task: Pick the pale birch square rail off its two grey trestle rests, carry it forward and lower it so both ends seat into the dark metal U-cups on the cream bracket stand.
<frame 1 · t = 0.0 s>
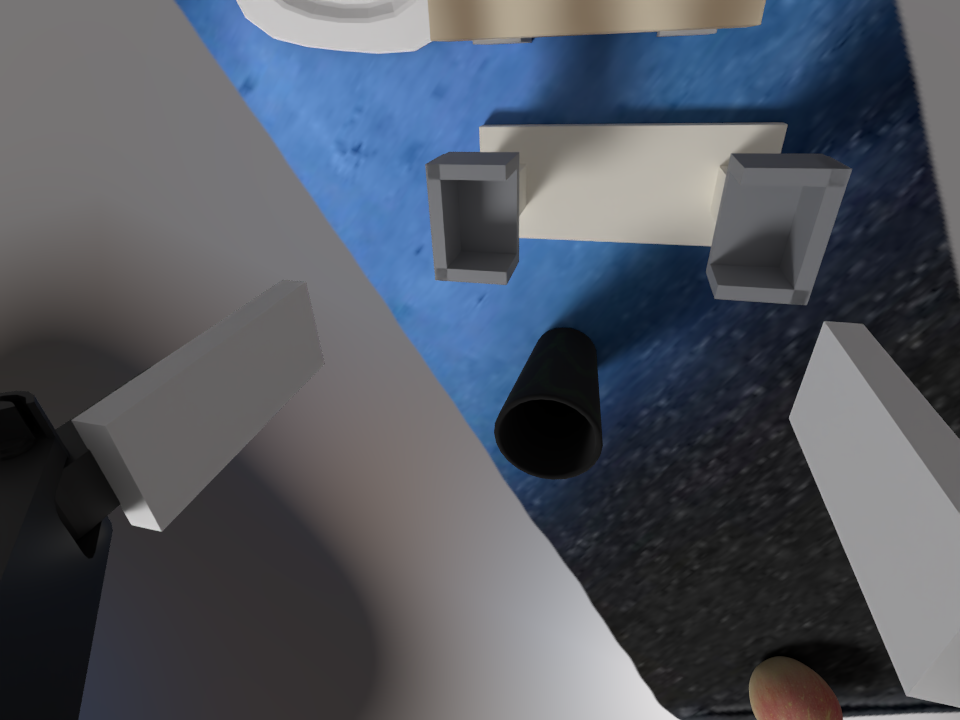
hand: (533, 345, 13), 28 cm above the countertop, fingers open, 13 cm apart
bracket stand: (617, 183, 37), on the countertop
apple: (784, 664, 60), on the countertop
cup: (565, 353, 46), on the countertop
rests: (594, 2, 32), on the countertop
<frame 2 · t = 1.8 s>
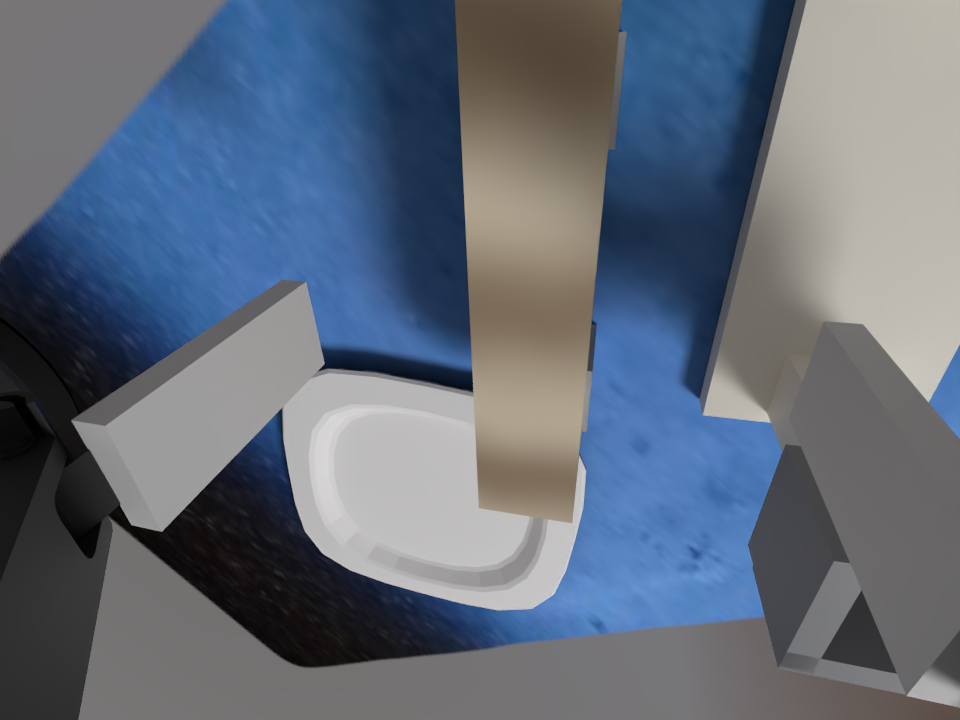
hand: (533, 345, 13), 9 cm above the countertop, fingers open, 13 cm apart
bracket stand: (879, 177, 17), on the countertop
rail: (544, 270, 18), point 4 cm above the countertop, touching rests
plate: (433, 484, 32), on the countertop
rests: (556, 235, 21), on the countertop
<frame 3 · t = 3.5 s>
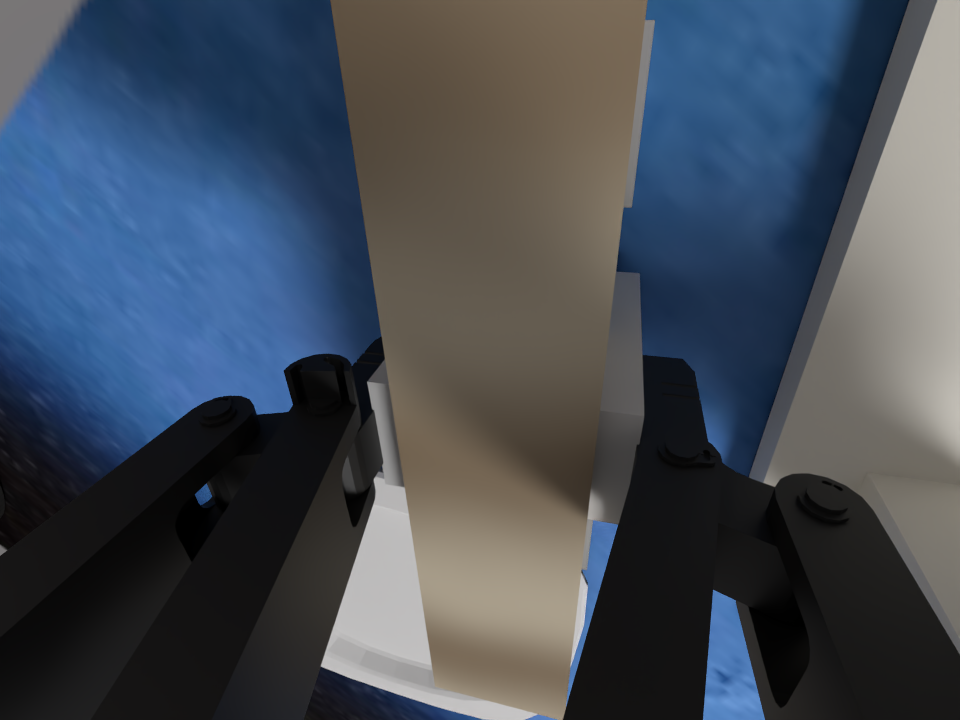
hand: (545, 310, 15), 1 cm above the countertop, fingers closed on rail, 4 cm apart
rail: (525, 370, 12), point 4 cm above the countertop, touching gripper
plate: (403, 575, 26), on the countertop
rests: (548, 302, 16), on the countertop
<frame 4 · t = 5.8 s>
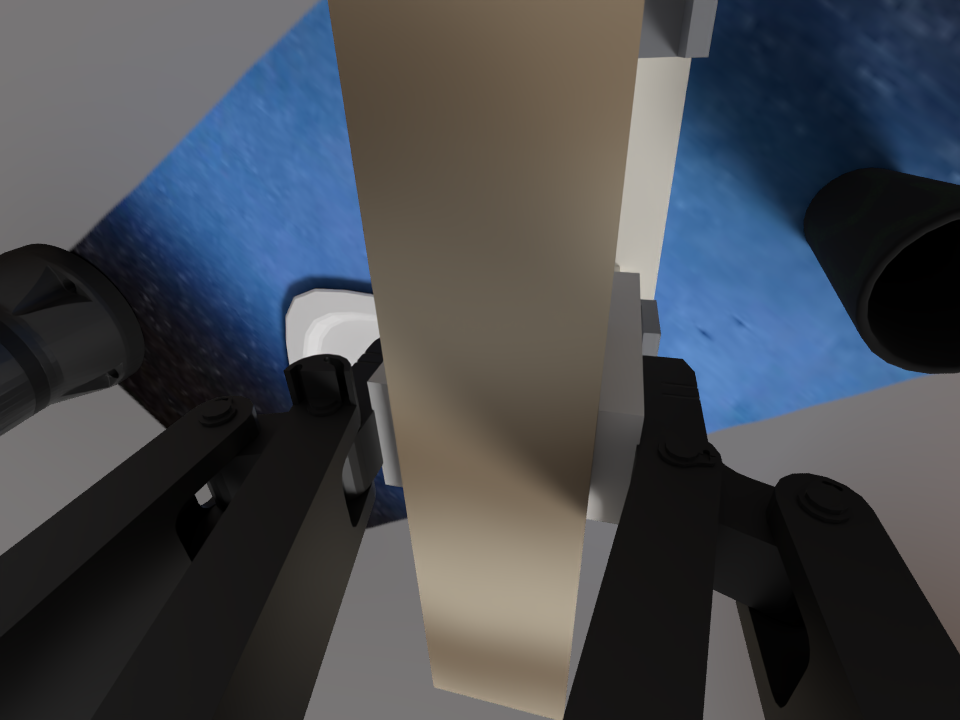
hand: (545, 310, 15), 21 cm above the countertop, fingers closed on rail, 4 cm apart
bracket stand: (606, 162, 32), on the countertop
rail: (524, 371, 12), point 25 cm above the countertop, touching gripper
plate: (388, 376, 47), on the countertop
cup: (854, 214, 31), on the countertop
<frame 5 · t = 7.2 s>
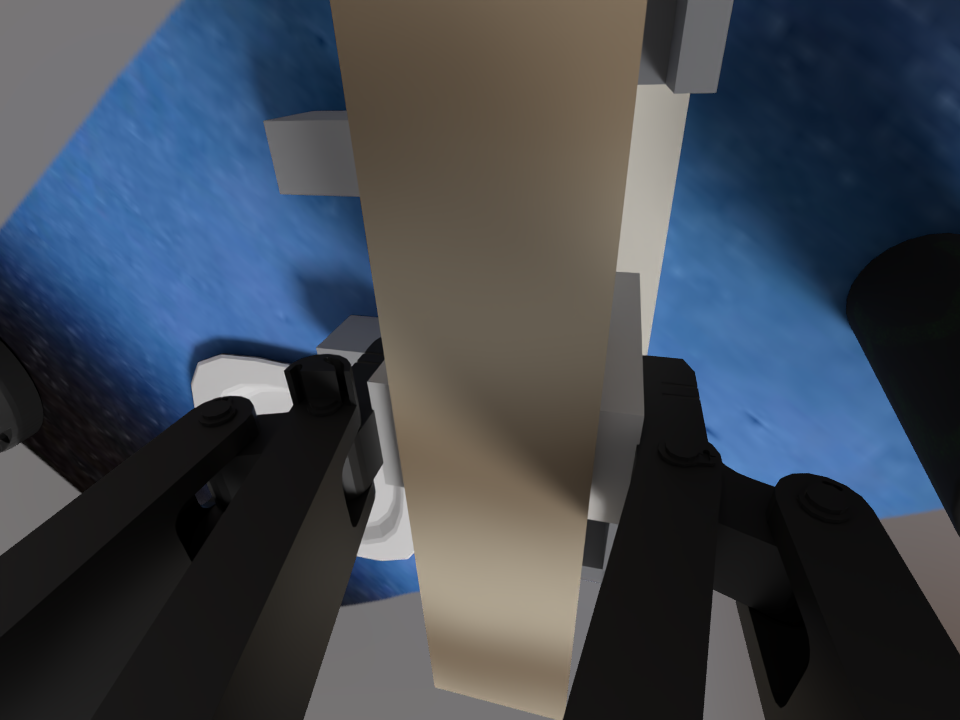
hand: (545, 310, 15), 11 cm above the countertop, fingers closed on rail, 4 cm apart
bracket stand: (577, 214, 24), on the countertop
rail: (525, 371, 12), point 14 cm above the countertop, touching gripper
plate: (322, 453, 38), on the countertop
cup: (919, 293, 22), on the countertop
rests: (371, 252, 28), on the countertop
when the fingers open (7 cm above the countertop, at t = 8.2 s): rail drops 1 cm, resting on bracket stand.
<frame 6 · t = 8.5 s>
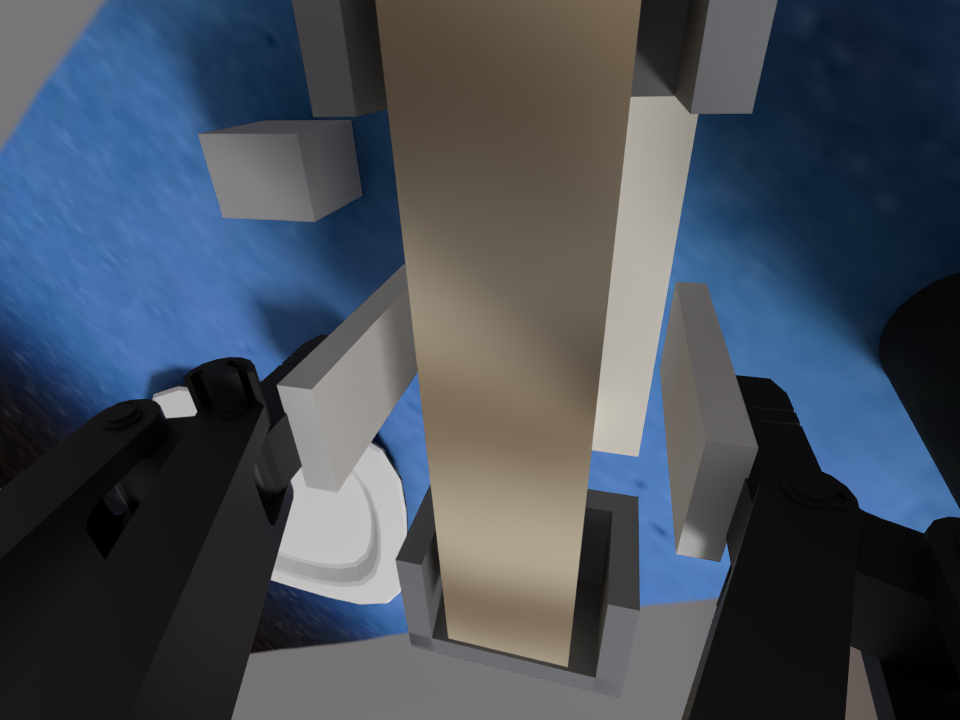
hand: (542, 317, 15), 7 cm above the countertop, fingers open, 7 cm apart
bracket stand: (568, 239, 21), on the countertop
rail: (532, 343, 13), point 9 cm above the countertop, touching bracket stand
plate: (294, 489, 35), on the countertop
rests: (337, 278, 24), on the countertop
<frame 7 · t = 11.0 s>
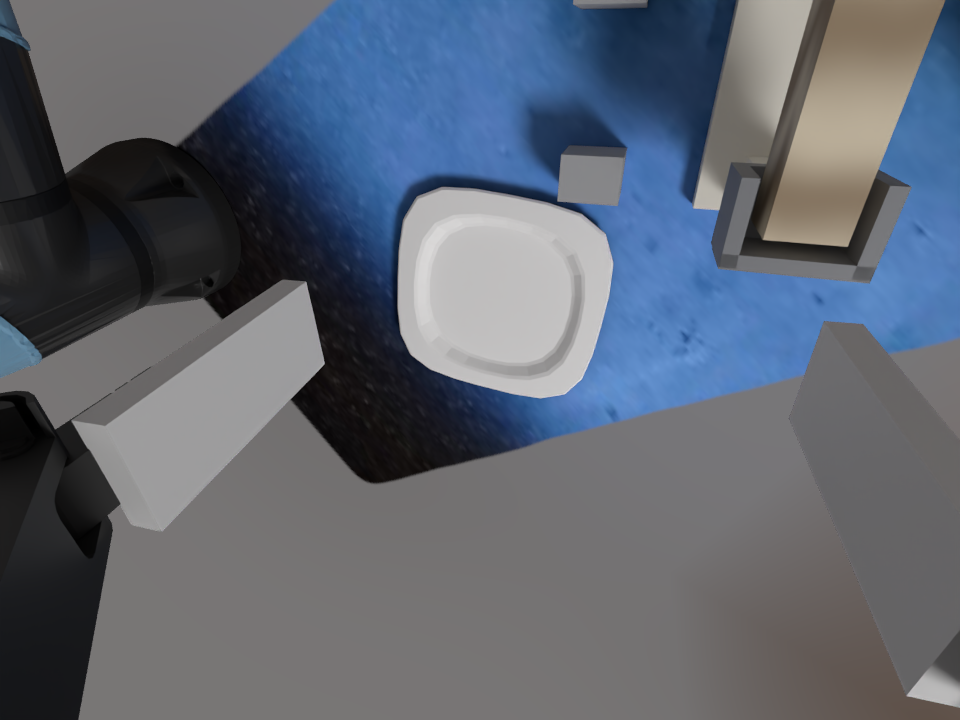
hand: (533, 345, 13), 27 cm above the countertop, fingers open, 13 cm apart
bracket stand: (802, 35, 29), on the countertop
rail: (849, 31, 22), point 9 cm above the countertop, touching bracket stand
plate: (500, 294, 44), on the countertop
rests: (605, 81, 33), on the countertop
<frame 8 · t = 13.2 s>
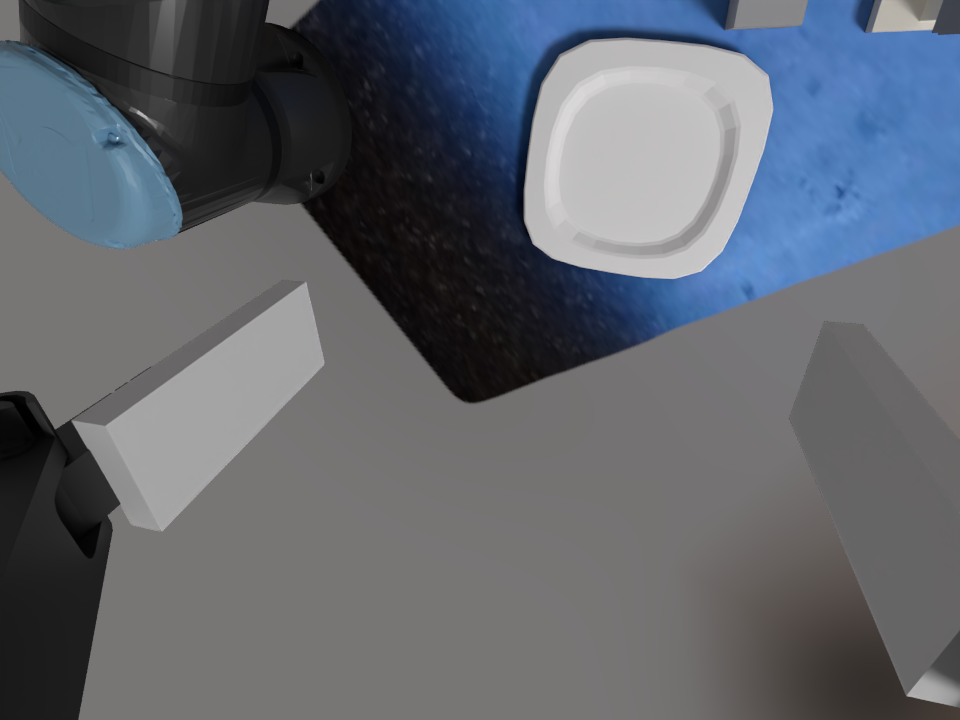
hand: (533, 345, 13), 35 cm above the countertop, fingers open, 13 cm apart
plate: (635, 166, 43), on the countertop
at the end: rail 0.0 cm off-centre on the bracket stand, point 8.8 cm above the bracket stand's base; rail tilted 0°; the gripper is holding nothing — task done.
